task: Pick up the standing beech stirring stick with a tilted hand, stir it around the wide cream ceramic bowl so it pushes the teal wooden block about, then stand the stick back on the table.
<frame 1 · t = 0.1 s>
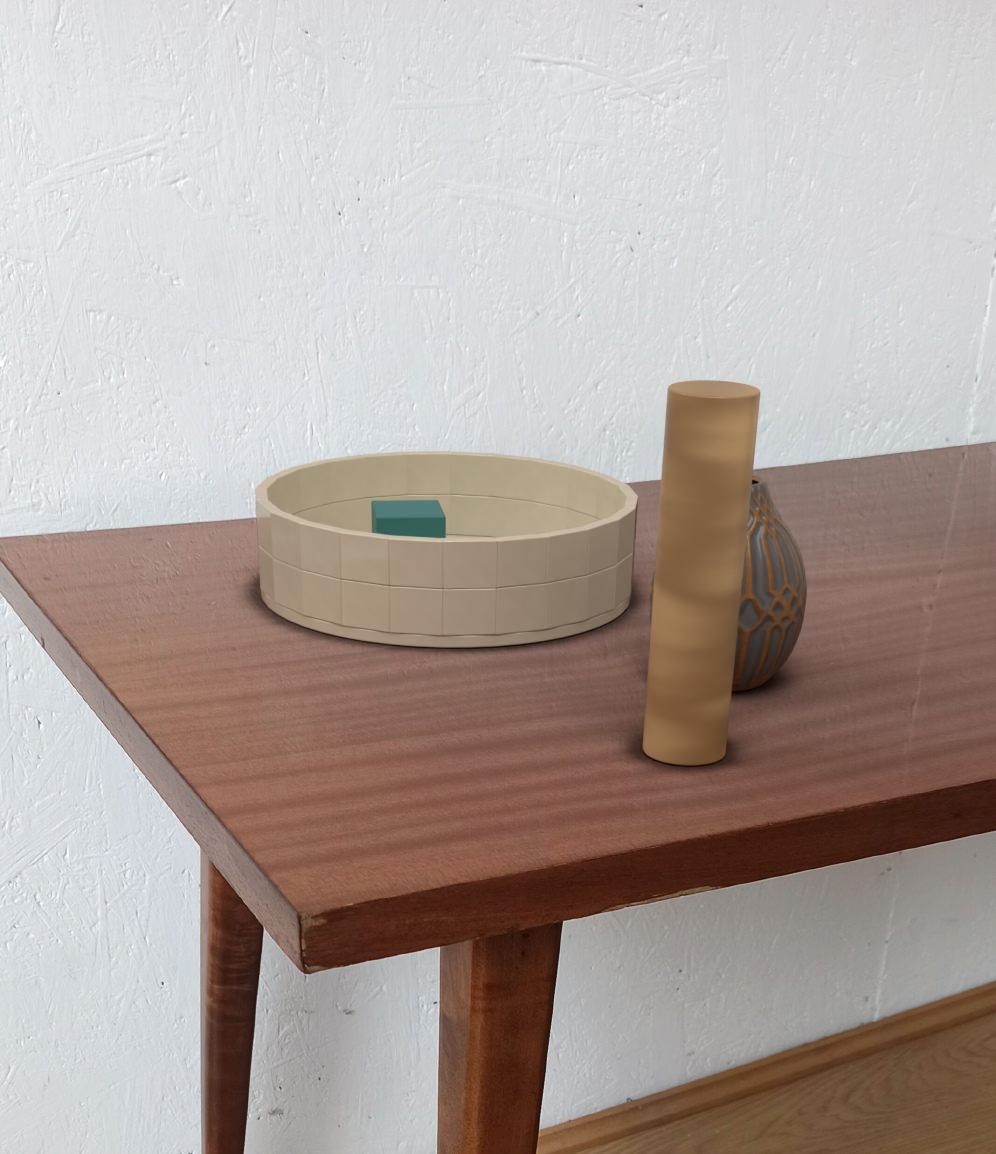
stick: (684, 750, 70), on the table
bowl: (446, 590, 89), on the table
vase: (720, 681, 78), on the table
block: (408, 576, 89), point 1 cm above the table, touching bowl
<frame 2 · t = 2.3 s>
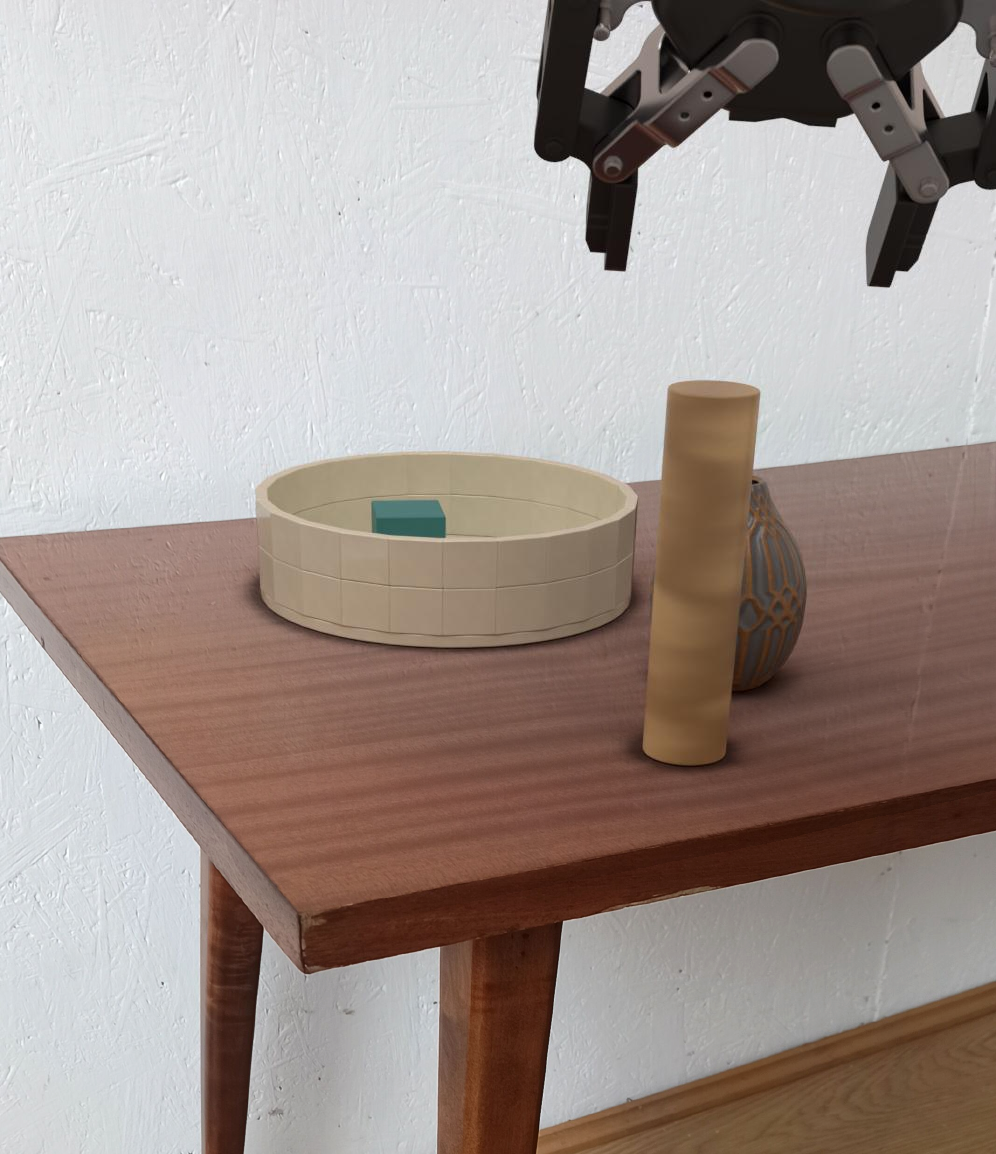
hand: (745, 258, 56), 19 cm above the table, tool tilted 40°, fingers open, 8 cm apart
nothing on the table moved.
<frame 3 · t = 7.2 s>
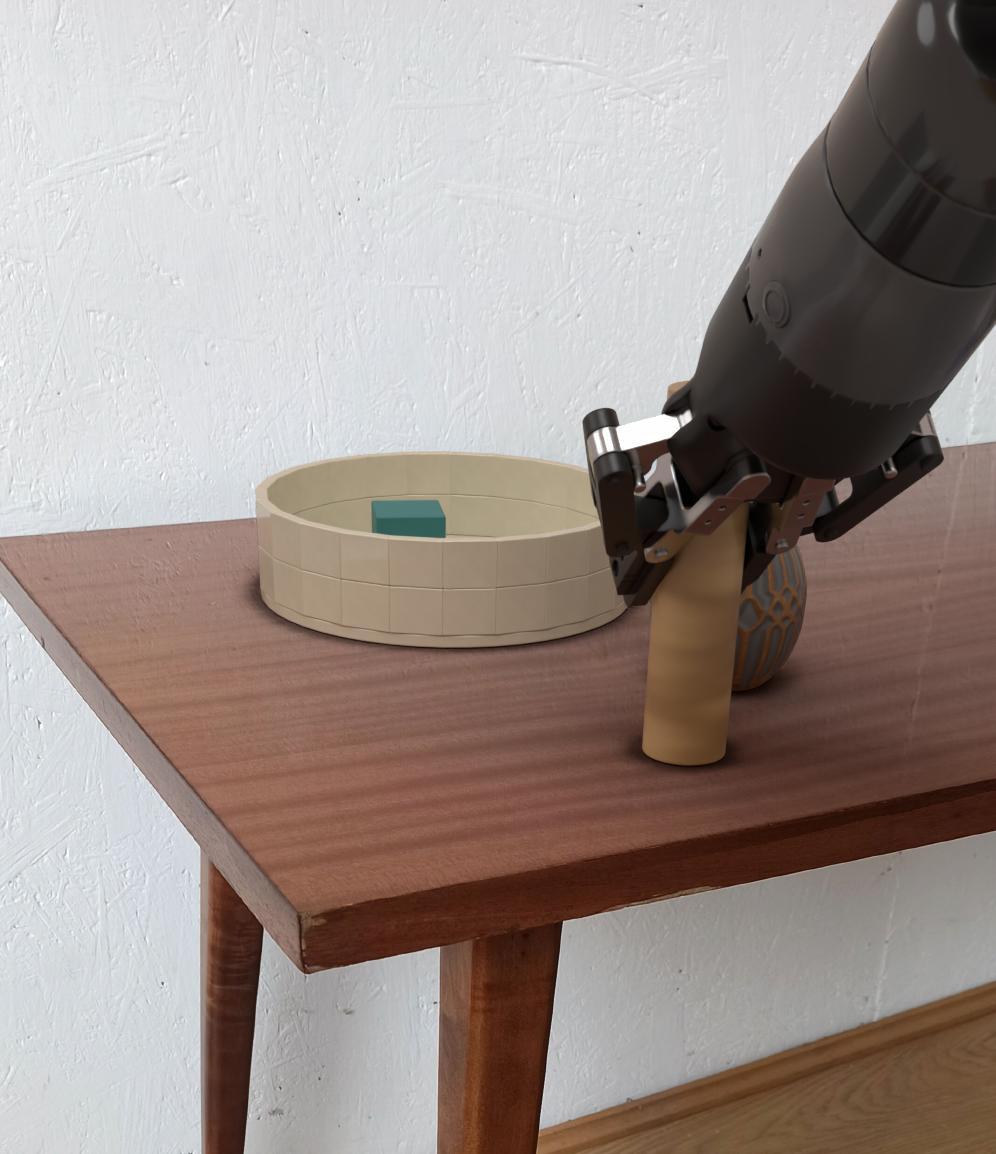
hand: (675, 580, 69), 6 cm above the table, tool tilted 45°, fingers closed on stick, 3 cm apart
stick: (683, 750, 70), on the table, touching gripper
everything else where it was.
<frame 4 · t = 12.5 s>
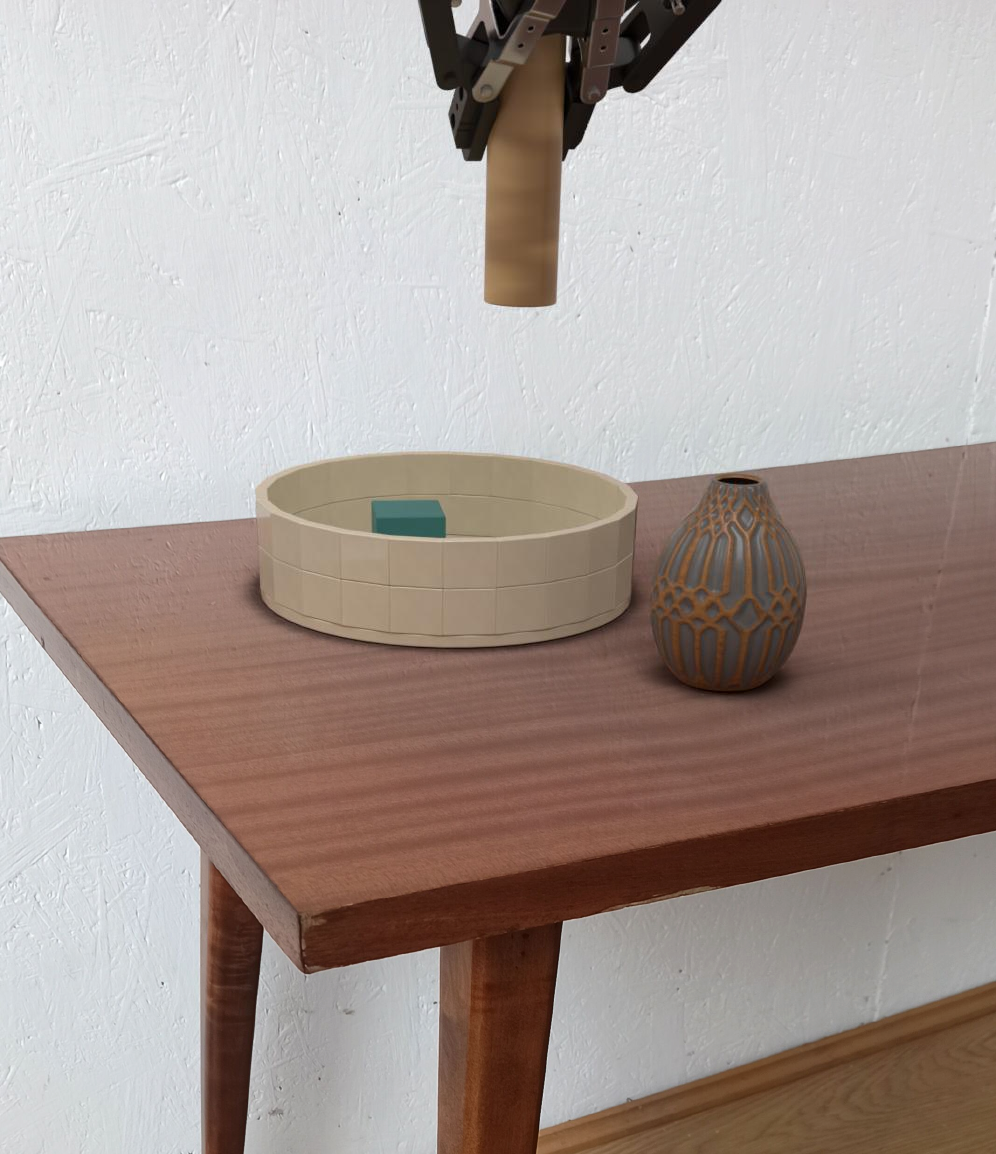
hand: (509, 143, 79), 21 cm above the table, tool tilted 45°, fingers closed on stick, 3 cm apart
stick: (520, 301, 80), point 14 cm above the table, touching gripper
everything else where it was.
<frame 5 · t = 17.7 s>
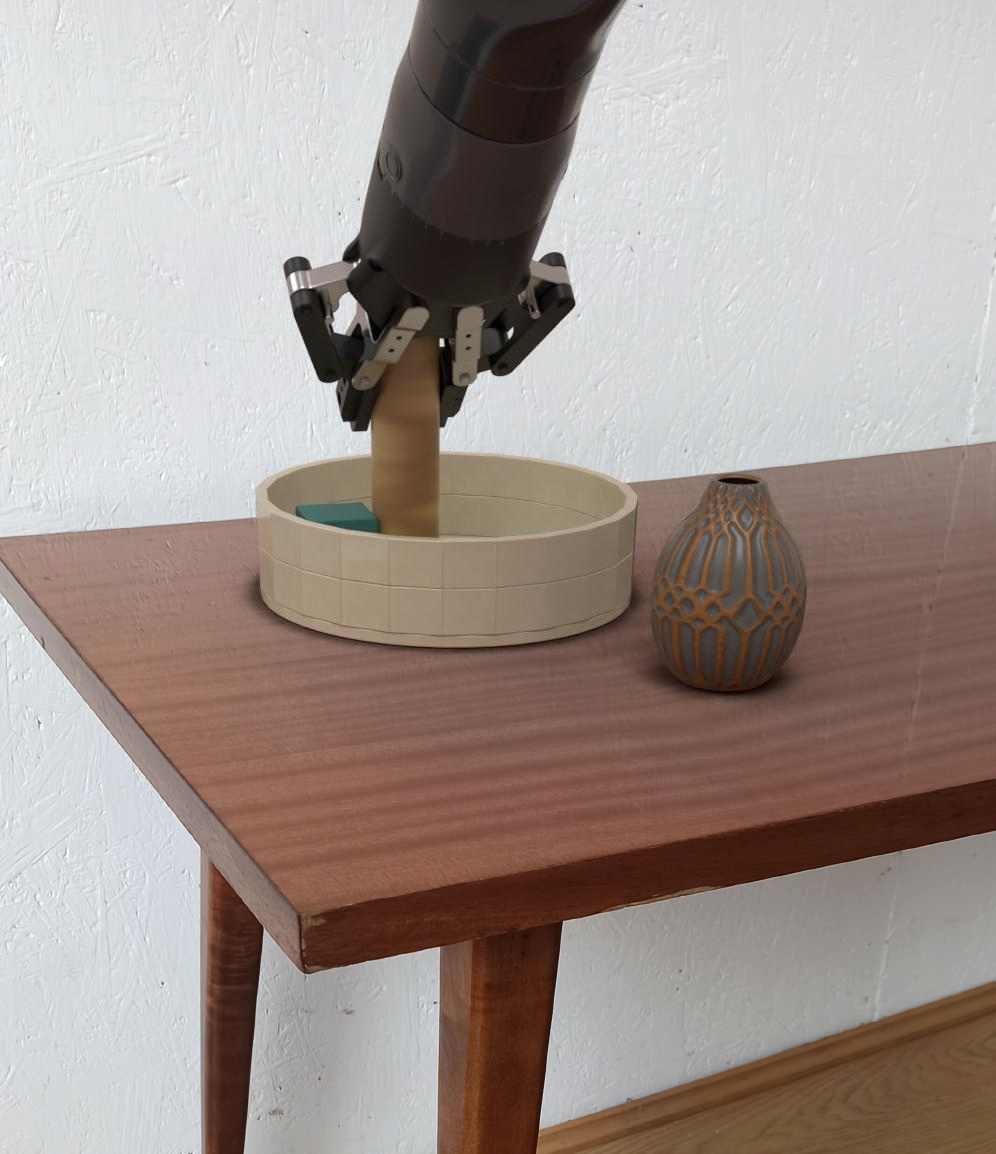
hand: (393, 413, 86), 8 cm above the table, tool tilted 45°, fingers closed on stick, 3 cm apart
stick: (406, 551, 88), point 2 cm above the table, touching gripper
block: (338, 580, 88), point 1 cm above the table, touching bowl
everything else where it was.
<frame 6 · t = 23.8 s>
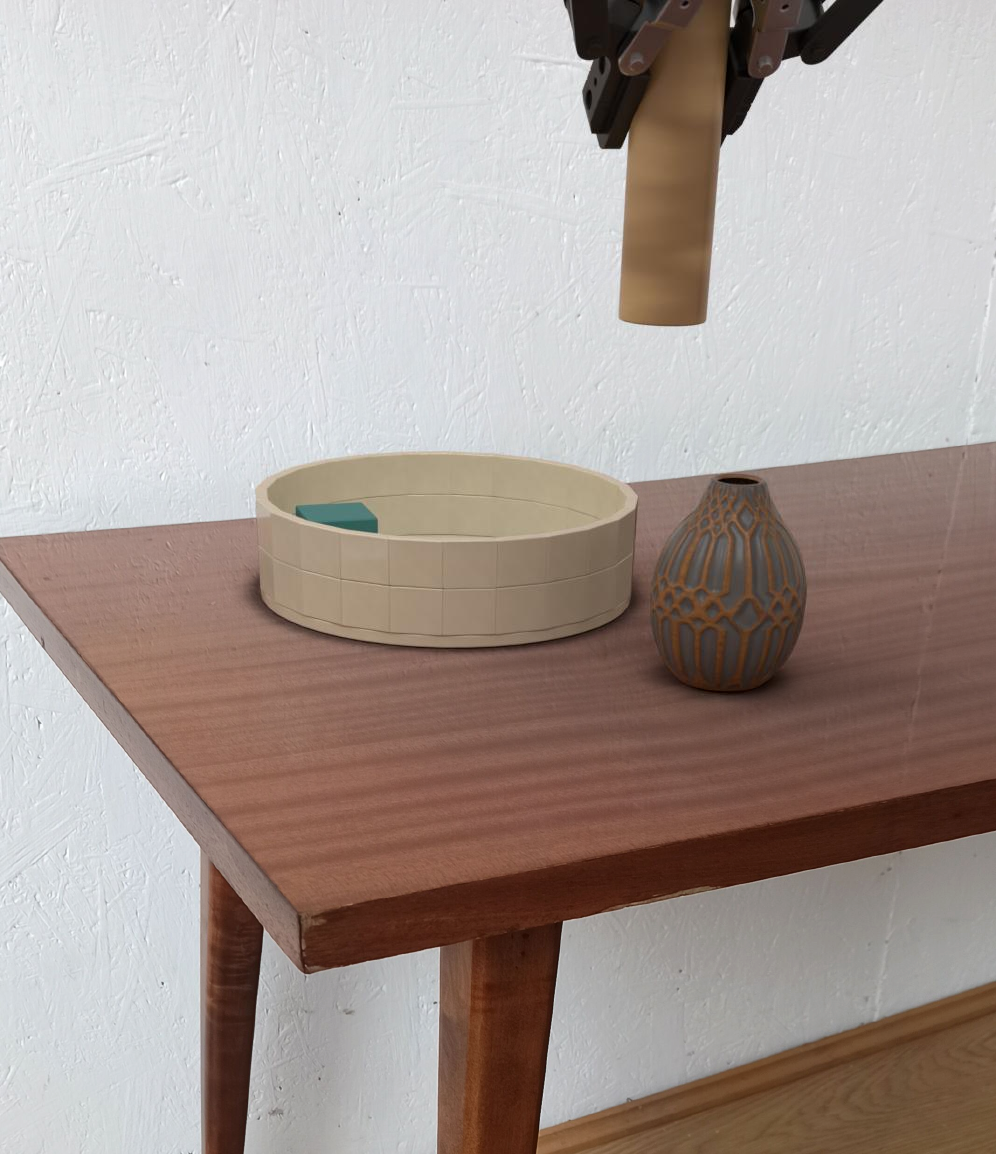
hand: (653, 128, 65), 22 cm above the table, tool tilted 45°, fingers closed on stick, 3 cm apart
stick: (662, 319, 66), point 16 cm above the table, touching gripper
everything else where it was.
when the fingers open (6 cm above the table, at t = 28.9 s): stick stays where it is, on the table.
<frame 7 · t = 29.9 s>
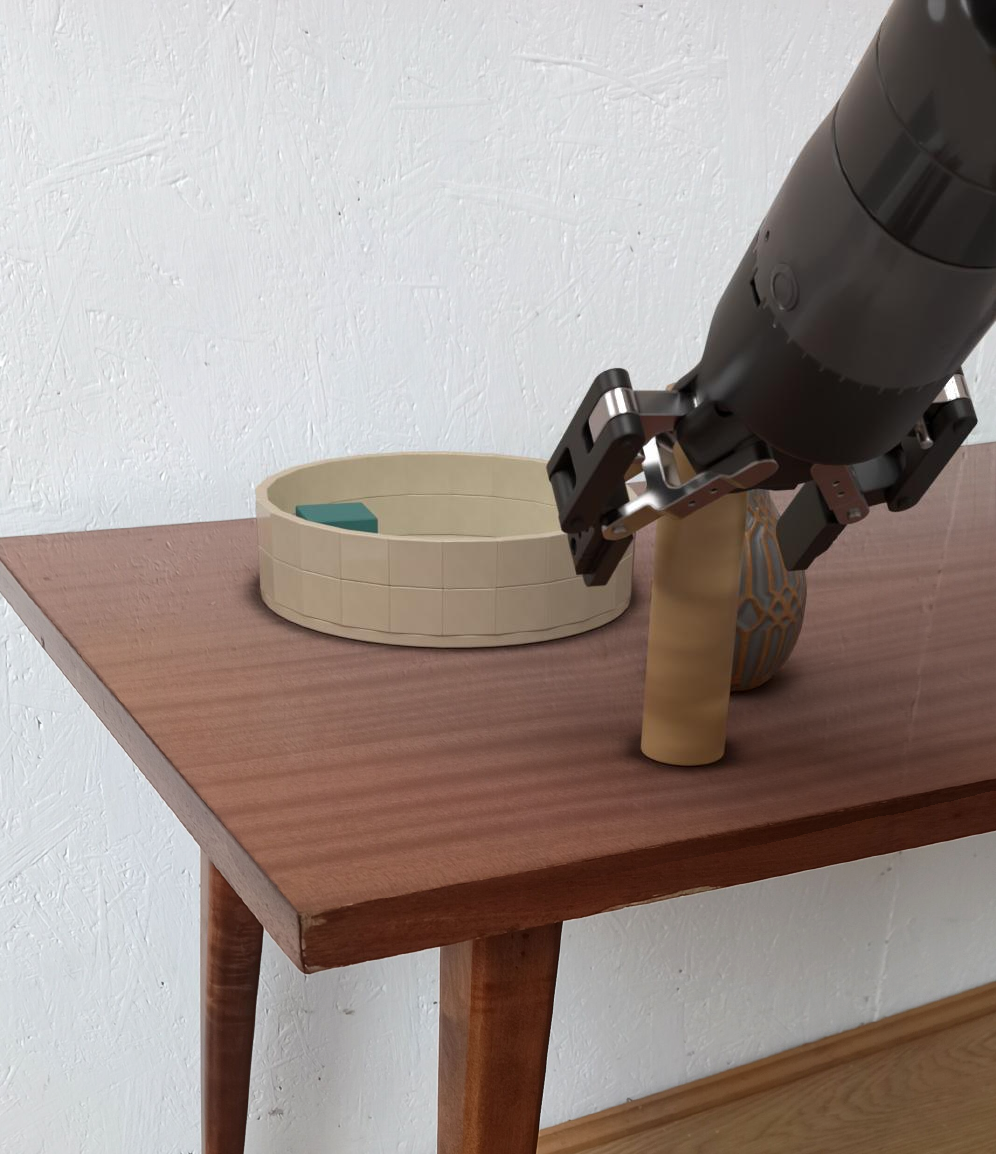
hand: (689, 557, 67), 8 cm above the table, tool tilted 45°, fingers open, 8 cm apart
stick: (682, 750, 70), on the table
everything else where it was.
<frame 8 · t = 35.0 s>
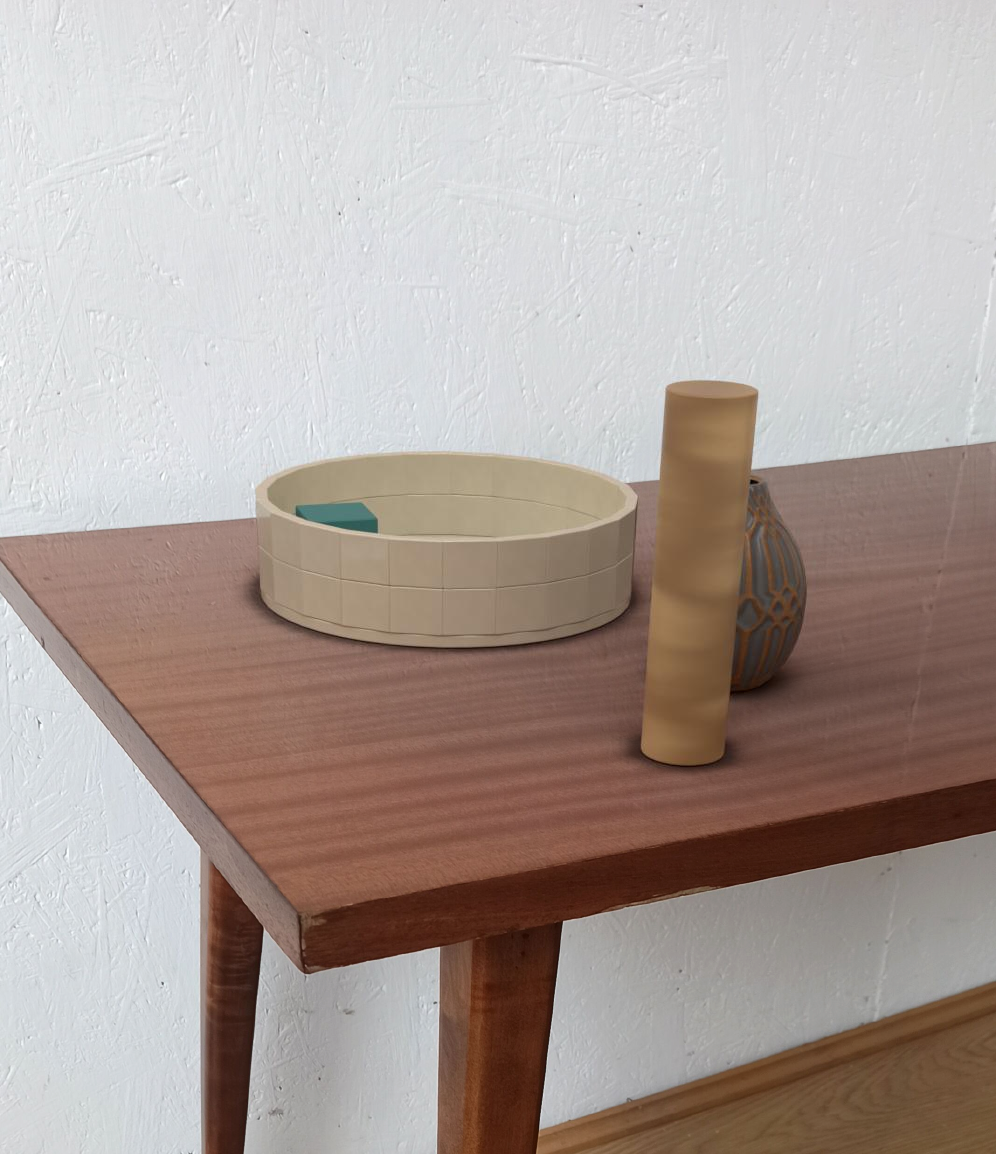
nothing on the table moved.
at the end: block moved 3.7 cm from its start; block inside the target area in the bowl (5.6 cm from its centre), point 0.6 cm above the bowl's base; the gripper is holding nothing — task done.
